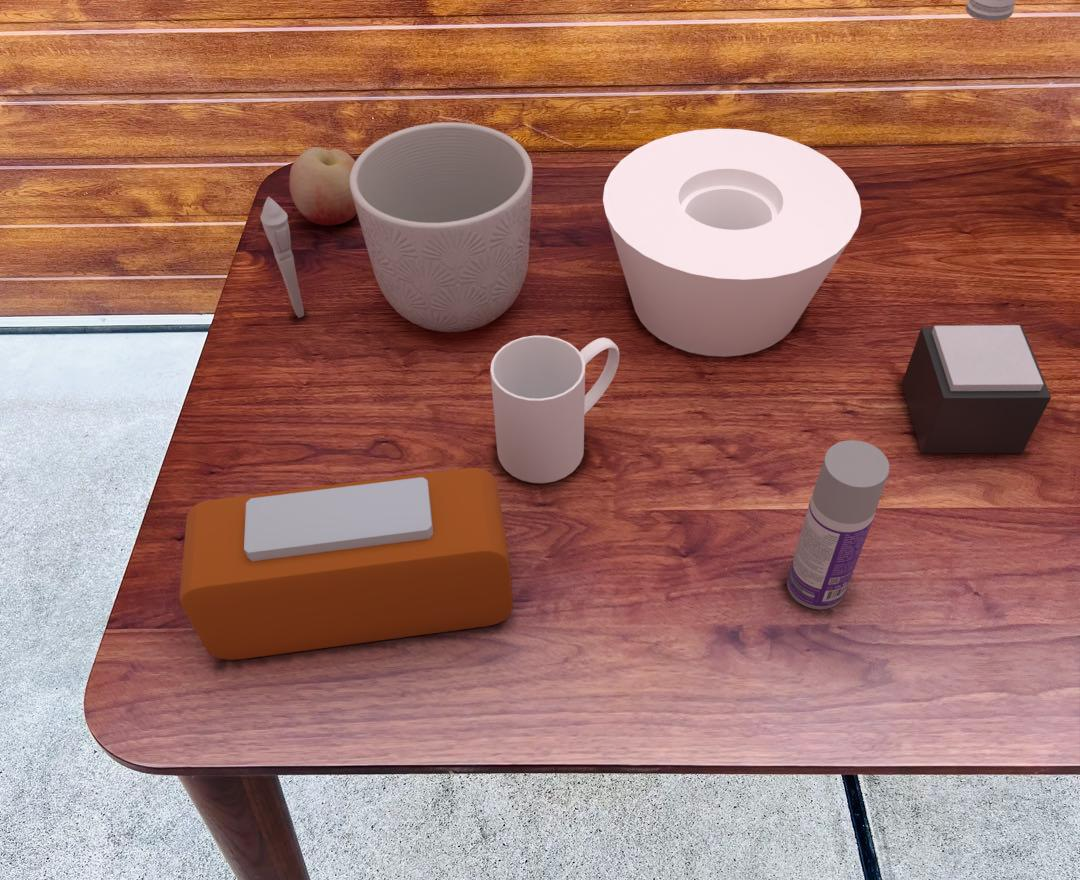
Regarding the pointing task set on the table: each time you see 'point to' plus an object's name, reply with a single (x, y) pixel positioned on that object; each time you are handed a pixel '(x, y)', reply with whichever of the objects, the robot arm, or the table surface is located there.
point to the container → (837, 523)
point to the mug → (544, 404)
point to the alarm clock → (346, 563)
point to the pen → (282, 249)
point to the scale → (974, 389)
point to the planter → (446, 222)
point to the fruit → (323, 186)
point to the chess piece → (990, 9)
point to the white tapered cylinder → (727, 235)
